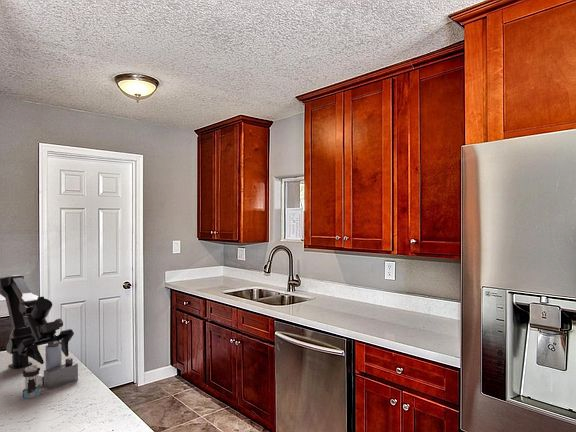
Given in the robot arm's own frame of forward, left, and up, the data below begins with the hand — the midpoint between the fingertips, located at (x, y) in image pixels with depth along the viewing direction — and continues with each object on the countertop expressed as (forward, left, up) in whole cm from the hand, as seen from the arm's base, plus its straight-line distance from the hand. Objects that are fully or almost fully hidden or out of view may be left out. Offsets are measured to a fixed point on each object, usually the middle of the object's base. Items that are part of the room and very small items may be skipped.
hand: (55, 359), depth 157 cm
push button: (+6, -11, -8) cm, 15 cm away
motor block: (+1, 0, -8) cm, 8 cm away
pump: (-2, 0, -8) cm, 8 cm away
